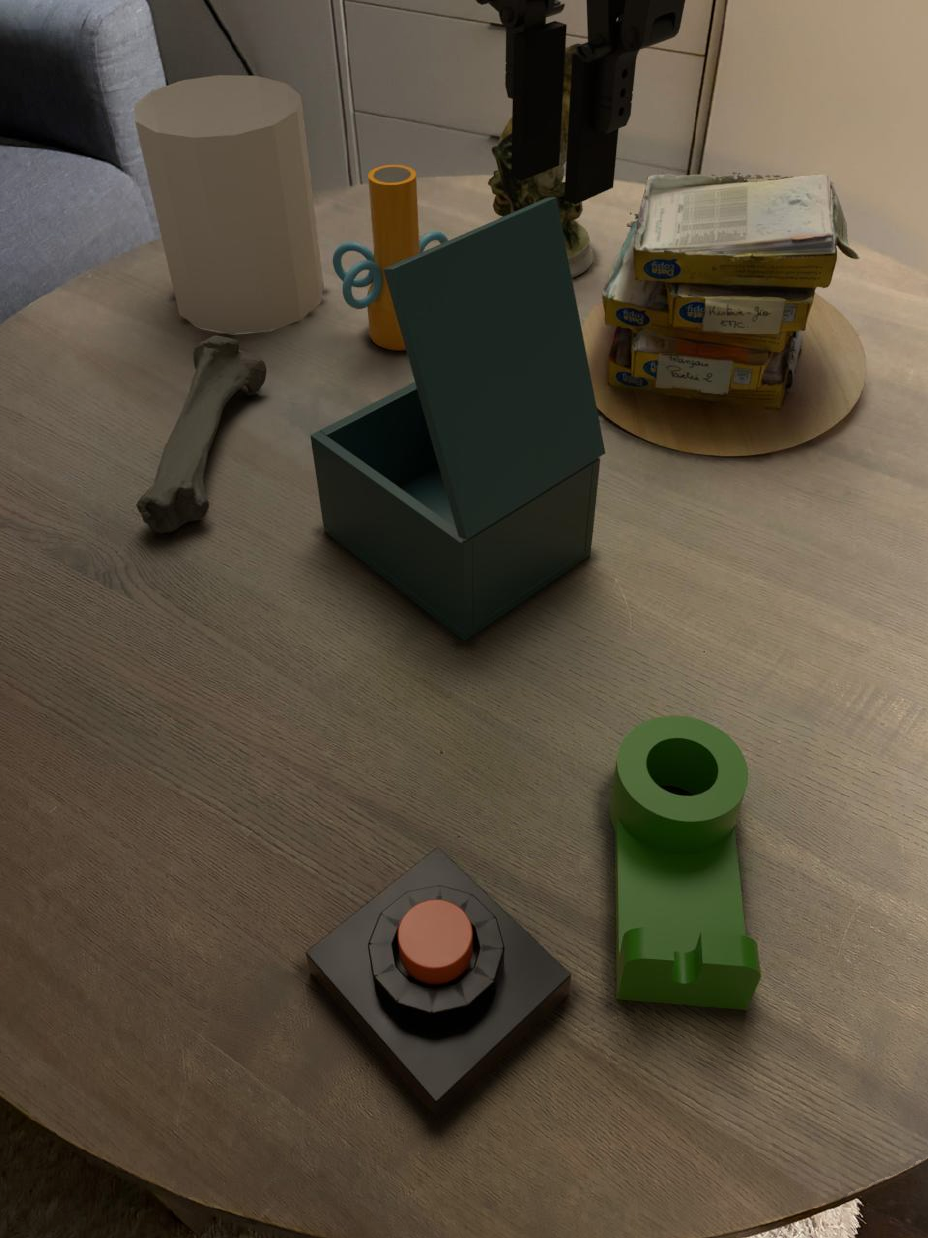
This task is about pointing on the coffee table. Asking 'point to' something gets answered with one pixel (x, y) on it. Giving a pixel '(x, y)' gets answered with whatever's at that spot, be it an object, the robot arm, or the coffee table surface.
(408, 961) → the button
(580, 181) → the robot arm
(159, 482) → the bone
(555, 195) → the figurine
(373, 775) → the coffee table surface
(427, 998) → the control block
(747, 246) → the paper stack
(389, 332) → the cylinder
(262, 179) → the container
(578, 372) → the tin lid
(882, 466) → the coffee table surface
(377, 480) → the tin
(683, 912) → the green ring bracket
